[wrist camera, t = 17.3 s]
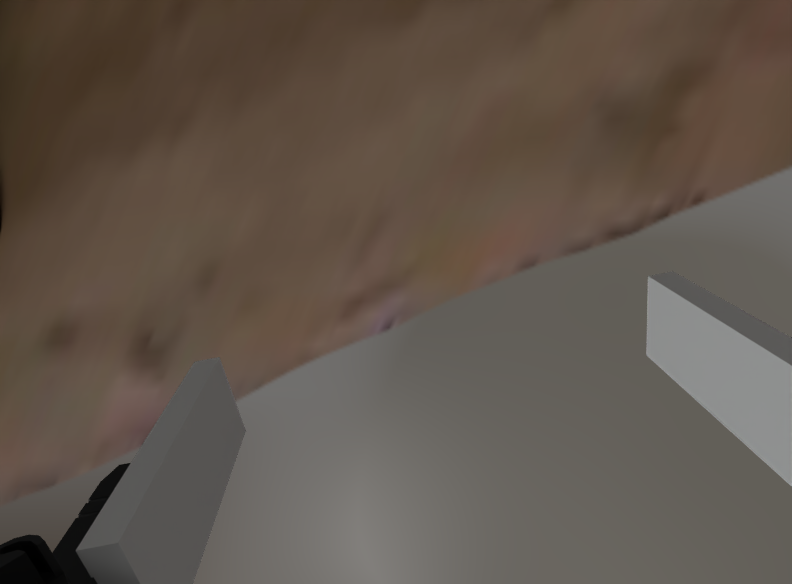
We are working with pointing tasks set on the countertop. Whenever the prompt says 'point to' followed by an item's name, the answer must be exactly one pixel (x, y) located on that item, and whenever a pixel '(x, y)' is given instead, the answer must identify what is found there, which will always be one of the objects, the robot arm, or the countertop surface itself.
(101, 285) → the countertop surface
